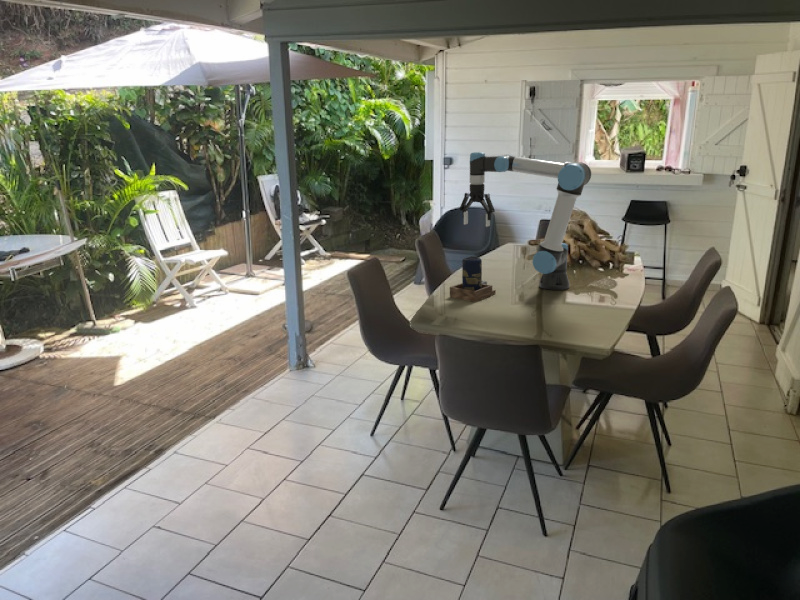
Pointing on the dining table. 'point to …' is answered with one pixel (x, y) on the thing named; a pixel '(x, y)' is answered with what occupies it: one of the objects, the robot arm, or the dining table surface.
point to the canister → (472, 273)
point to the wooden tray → (471, 292)
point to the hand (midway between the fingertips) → (476, 225)
